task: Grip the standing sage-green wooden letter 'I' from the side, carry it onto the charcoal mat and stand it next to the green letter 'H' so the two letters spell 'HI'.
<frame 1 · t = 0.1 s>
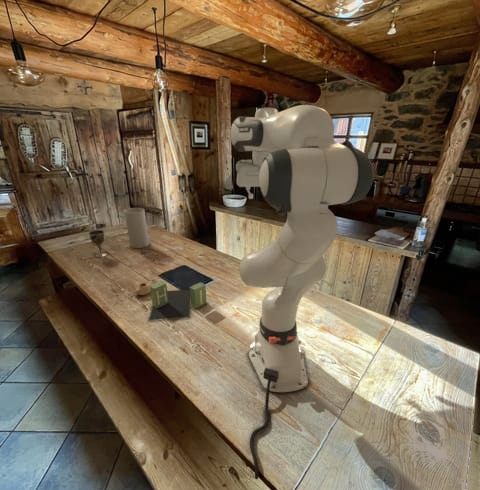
hand: (263, 198, 101), 48 cm above the table, tool pointing down, fingers open, 8 cm apart
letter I: (198, 305, 119), on the table
cylinder vase: (140, 245, 185), on the table
word mat: (172, 304, 120), on the table
pottery oil lamp: (147, 292, 129), on the table
letter H: (160, 304, 119), point 1 cm above the table, touching word mat
wine glass: (101, 255, 170), on the table
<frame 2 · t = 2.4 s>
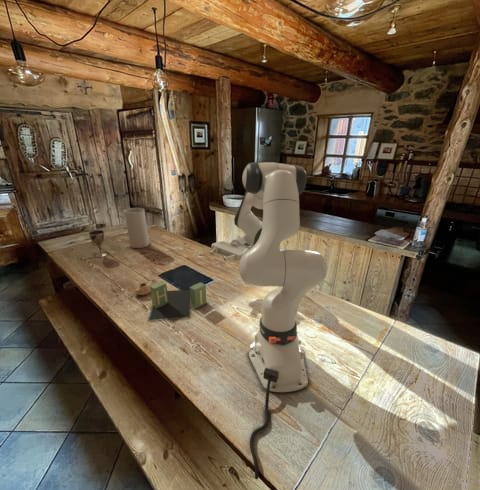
hand: (217, 256, 119), 20 cm above the table, tool horizontal, fingers open, 8 cm apart
nothing on the table moved.
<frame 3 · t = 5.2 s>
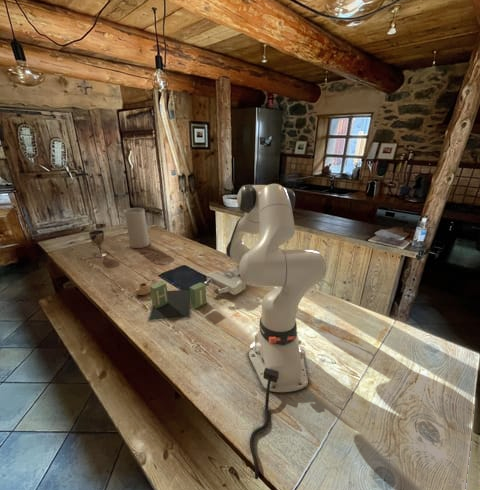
hand: (211, 288, 122), 6 cm above the table, tool horizontal, fingers open, 8 cm apart
nothing on the table moved.
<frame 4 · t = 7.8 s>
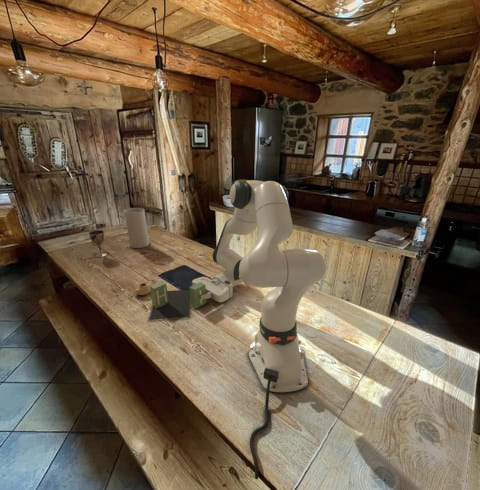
hand: (196, 295, 117), 6 cm above the table, tool horizontal, fingers closed on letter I, 4 cm apart
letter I: (198, 305, 119), on the table, touching gripper
everything else where it was.
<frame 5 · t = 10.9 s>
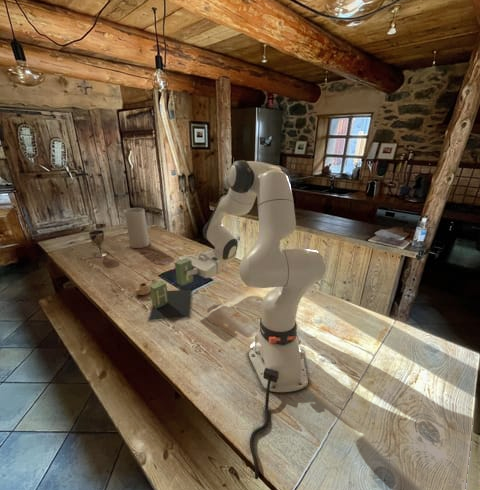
hand: (182, 271, 113), 17 cm above the table, tool horizontal, fingers closed on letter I, 4 cm apart
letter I: (185, 282, 116), point 11 cm above the table, touching gripper
everything else where it was.
when the fingers open (6 cm above the table, at t = 14.4 s): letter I stays where it is, resting on word mat.
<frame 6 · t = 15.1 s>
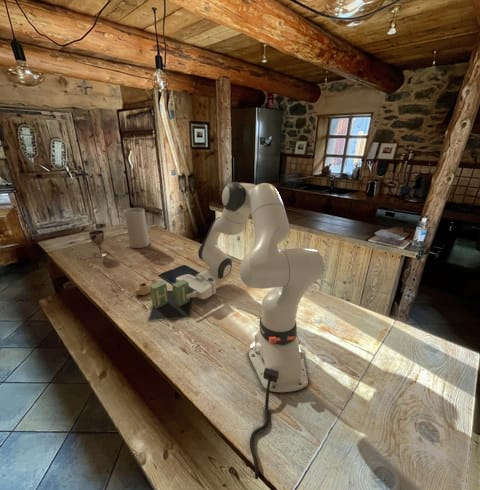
hand: (179, 292, 117), 6 cm above the table, tool horizontal, fingers open, 8 cm apart
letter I: (182, 302, 120), point 1 cm above the table, touching word mat
everything else where it was.
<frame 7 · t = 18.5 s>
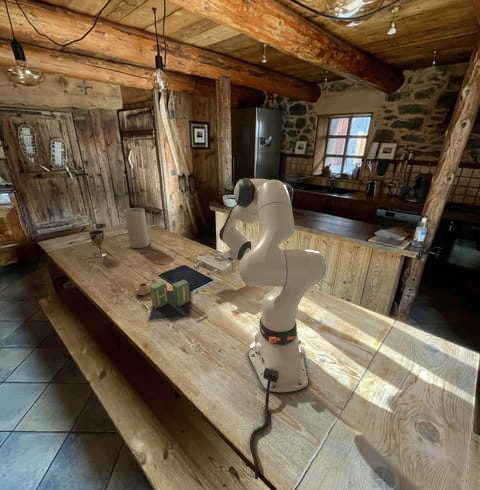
hand: (201, 270, 123), 12 cm above the table, tool horizontal, fingers open, 8 cm apart
nothing on the table moved.
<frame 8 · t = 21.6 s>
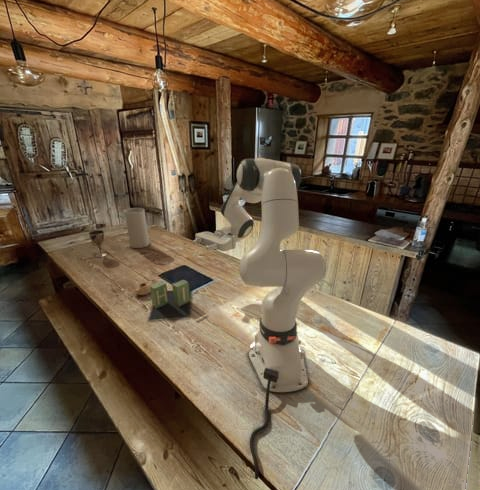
hand: (200, 245, 118), 25 cm above the table, tool horizontal, fingers open, 8 cm apart
nothing on the table moved.
at the end: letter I 0.2 cm from the target spot, point 0.6 cm above the table; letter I tilted 0°; letter H moved 0.0 cm from its start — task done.
